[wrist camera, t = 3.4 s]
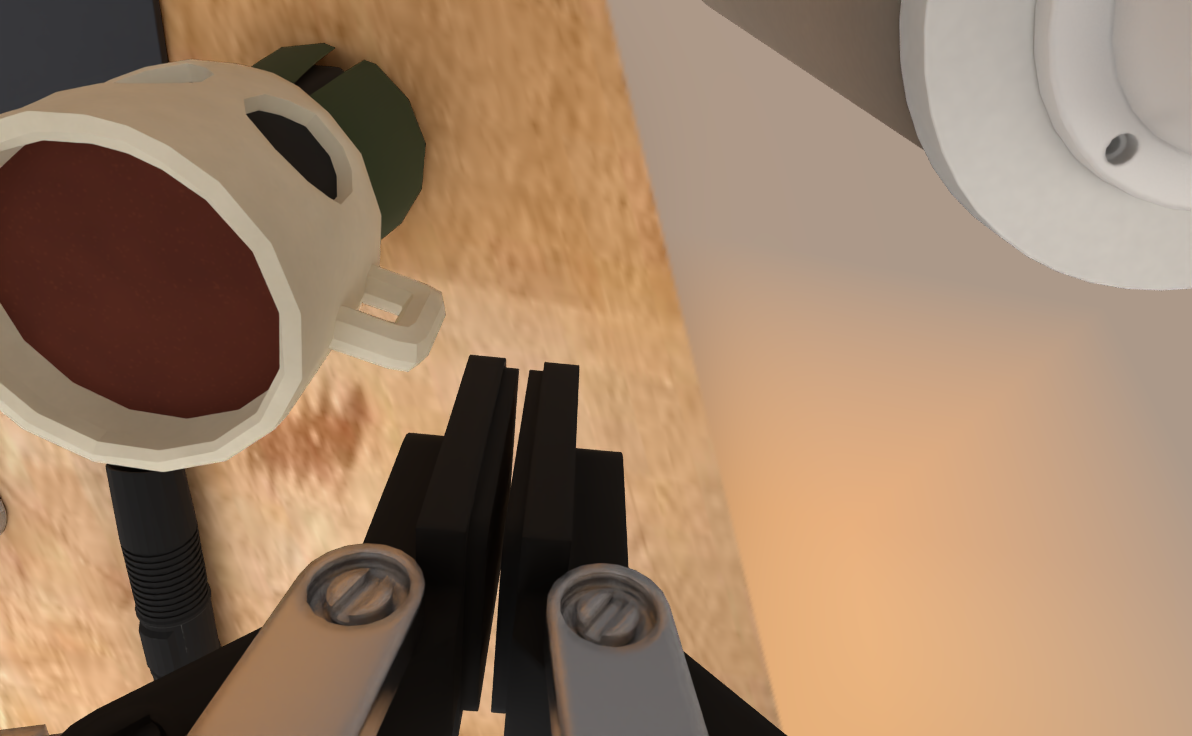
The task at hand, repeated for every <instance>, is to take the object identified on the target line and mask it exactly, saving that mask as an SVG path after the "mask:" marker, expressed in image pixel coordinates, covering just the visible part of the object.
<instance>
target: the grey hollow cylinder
mask: <svg viewBox="0 0 1192 736" xmlns="http://www.w3.org/2000/svg"><path fill="white" fill-rule="evenodd" d="M6 522H7V516H6V510H5V507H4V505H3V503H2V501H1V499H0V535H1V534H2V532H3V531H4V529H5V527H6Z"/></svg>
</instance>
